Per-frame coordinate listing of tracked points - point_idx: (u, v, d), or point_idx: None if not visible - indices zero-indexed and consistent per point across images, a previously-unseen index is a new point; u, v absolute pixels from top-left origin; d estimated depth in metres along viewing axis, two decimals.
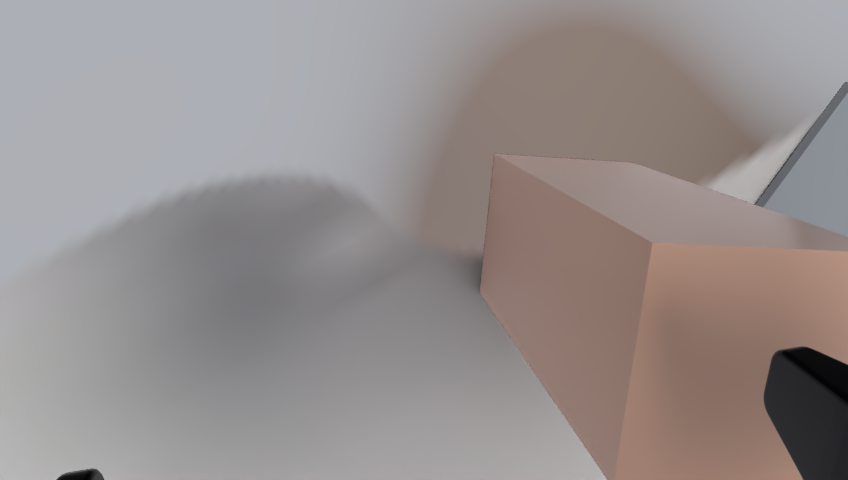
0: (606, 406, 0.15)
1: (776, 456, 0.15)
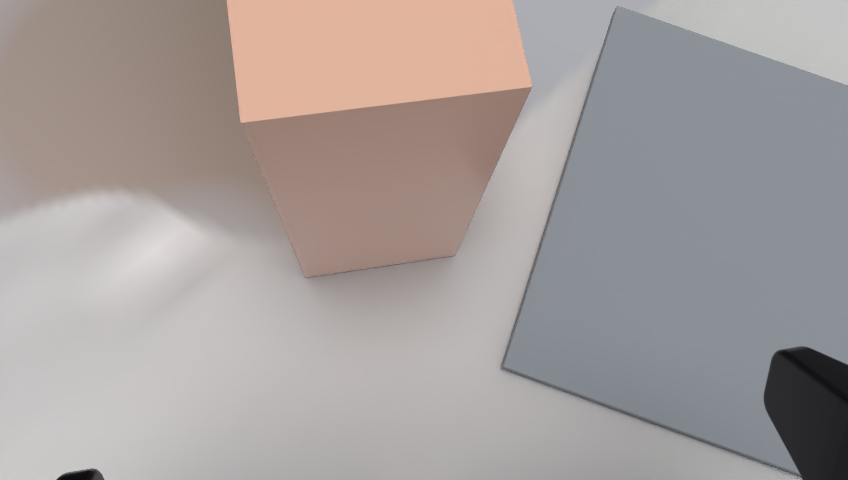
0: None
1: (436, 63, 0.12)
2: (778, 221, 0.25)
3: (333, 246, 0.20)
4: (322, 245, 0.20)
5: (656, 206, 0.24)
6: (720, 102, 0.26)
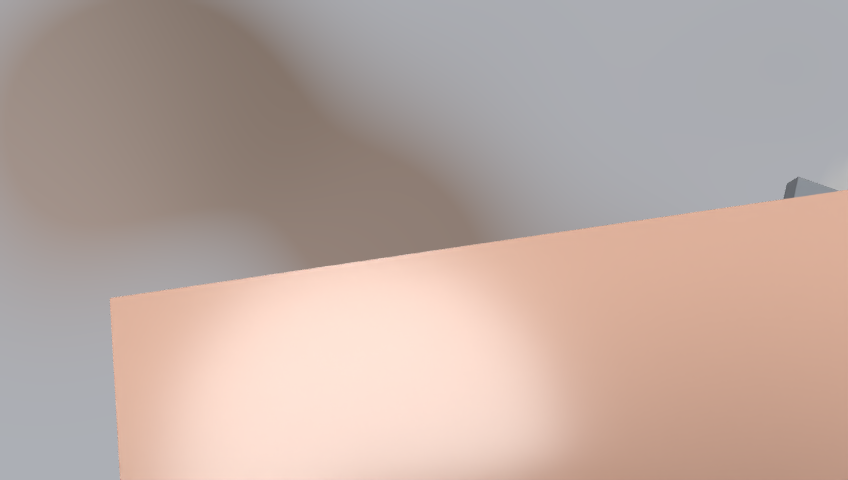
0: None
1: None
2: None
3: None
4: None
5: None
6: None
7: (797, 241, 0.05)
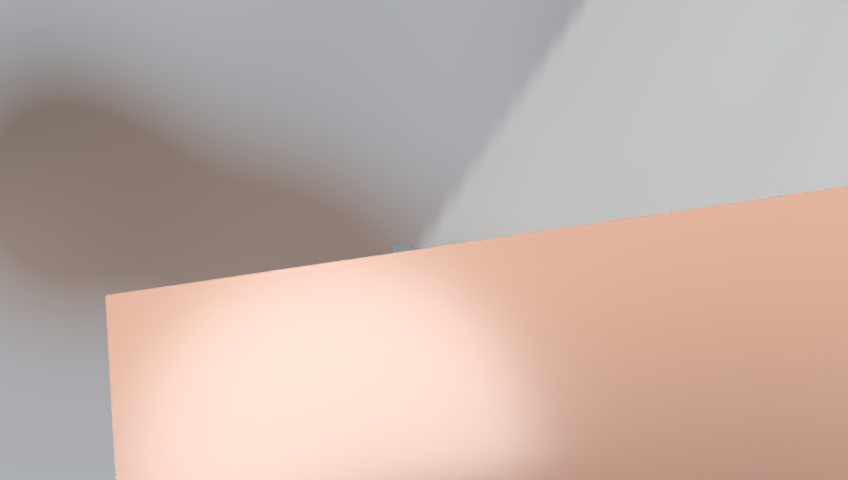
0: None
1: None
2: None
3: None
4: None
5: None
6: None
7: (791, 240, 0.05)
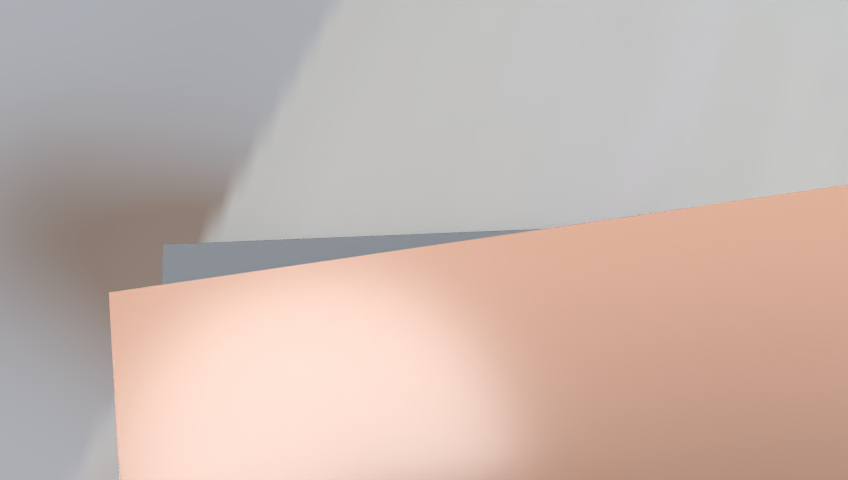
0: None
1: None
2: None
3: None
4: None
5: None
6: None
7: (794, 238, 0.05)
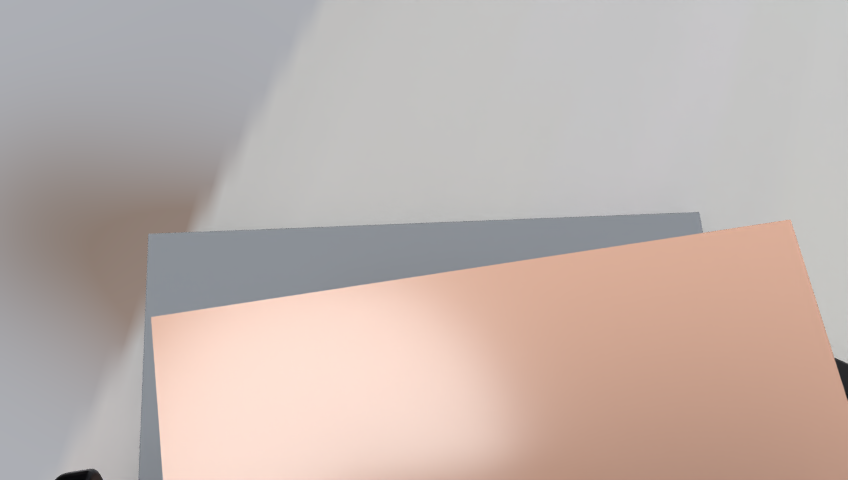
0: None
1: None
2: None
3: None
4: None
5: None
6: None
7: (717, 268, 0.06)
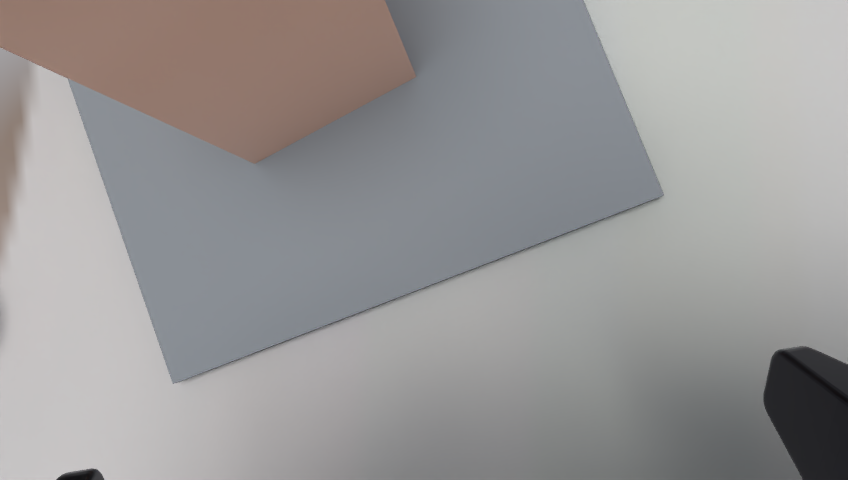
0: None
1: None
2: None
3: (246, 117, 0.16)
4: (231, 121, 0.16)
5: None
6: None
7: None
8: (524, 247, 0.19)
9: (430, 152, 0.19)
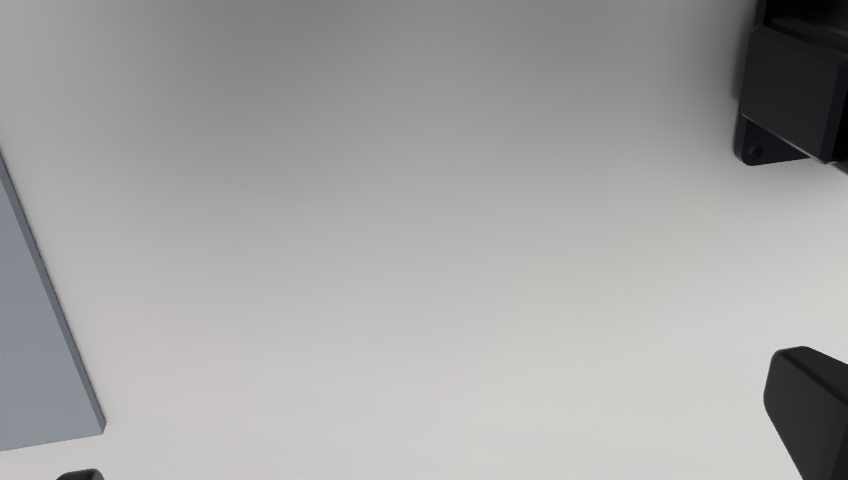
0: None
1: None
2: None
3: None
4: None
5: None
6: None
7: None
8: None
9: None
